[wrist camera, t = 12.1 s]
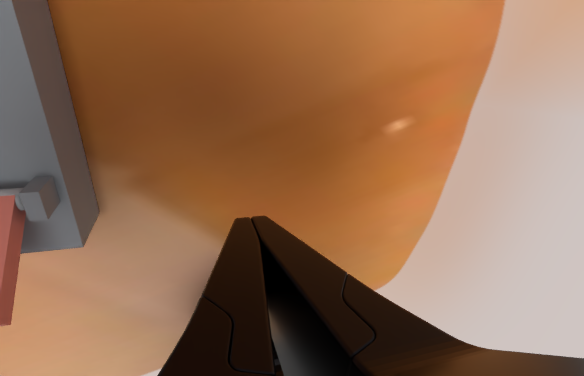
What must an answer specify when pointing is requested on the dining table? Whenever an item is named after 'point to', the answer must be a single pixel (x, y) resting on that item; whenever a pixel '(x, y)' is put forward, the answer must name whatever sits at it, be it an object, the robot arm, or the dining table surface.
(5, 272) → the lever
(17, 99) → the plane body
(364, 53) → the dining table surface
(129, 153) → the dining table surface
